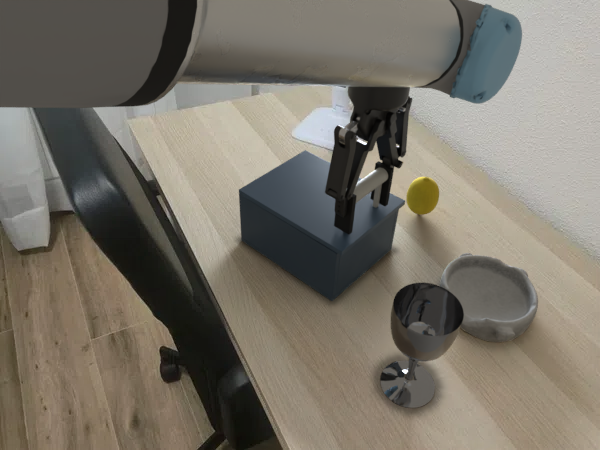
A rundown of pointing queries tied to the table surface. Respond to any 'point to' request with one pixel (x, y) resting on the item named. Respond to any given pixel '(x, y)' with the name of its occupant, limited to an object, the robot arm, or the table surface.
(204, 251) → the table surface
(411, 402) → the wine glass
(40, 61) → the robot arm
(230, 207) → the table surface
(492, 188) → the table surface
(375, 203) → the lid
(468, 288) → the dish
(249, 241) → the chest
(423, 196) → the lemon
